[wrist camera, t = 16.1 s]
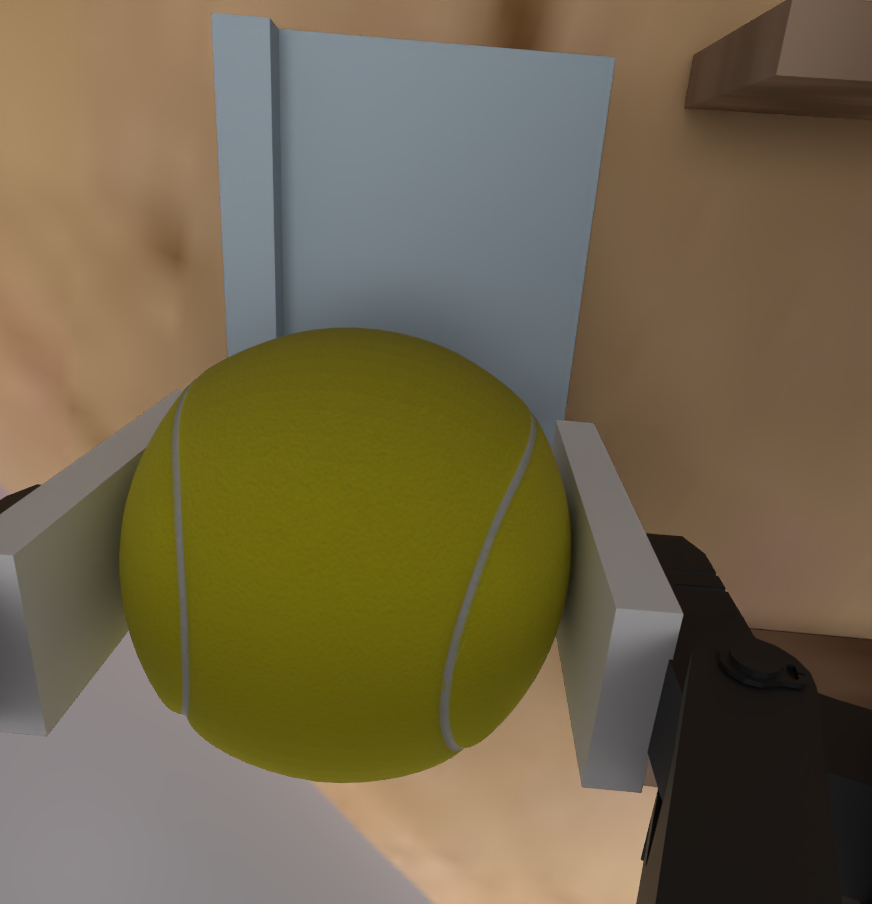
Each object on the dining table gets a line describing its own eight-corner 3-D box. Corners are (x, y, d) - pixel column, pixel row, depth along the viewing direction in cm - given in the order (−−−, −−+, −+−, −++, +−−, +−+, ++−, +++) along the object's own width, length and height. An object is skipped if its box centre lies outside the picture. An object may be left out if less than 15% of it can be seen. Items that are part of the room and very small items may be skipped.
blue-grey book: (631, 48, 15) (211, 12, 14) (537, 681, 21) (242, 677, 21) (603, 64, 17) (234, 33, 16) (525, 637, 24) (256, 632, 23)
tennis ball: (217, 582, 16) (44, 862, 9) (214, 274, 13) (-28, 368, 7) (518, 618, 16) (553, 923, 9) (575, 317, 13) (674, 452, 7)
